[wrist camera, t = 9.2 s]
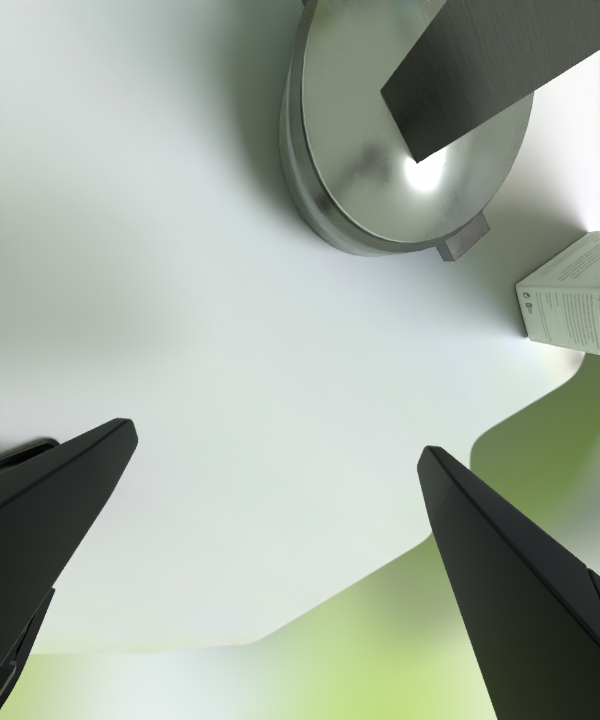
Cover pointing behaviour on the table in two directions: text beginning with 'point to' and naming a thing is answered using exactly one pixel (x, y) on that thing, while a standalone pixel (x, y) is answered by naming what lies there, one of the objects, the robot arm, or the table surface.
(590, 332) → the skincare box
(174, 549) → the table surface
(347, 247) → the pot
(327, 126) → the lid
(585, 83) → the table surface
